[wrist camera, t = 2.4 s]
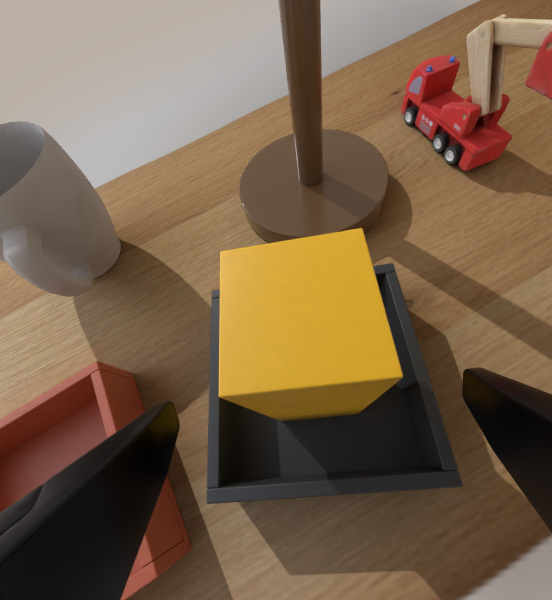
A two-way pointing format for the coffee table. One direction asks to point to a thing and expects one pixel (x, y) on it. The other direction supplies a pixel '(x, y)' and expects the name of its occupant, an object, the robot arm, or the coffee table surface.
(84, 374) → the bin left
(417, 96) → the toy fire truck
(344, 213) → the tall lamp
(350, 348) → the yellow box
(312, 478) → the bin right
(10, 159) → the mug
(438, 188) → the coffee table surface
